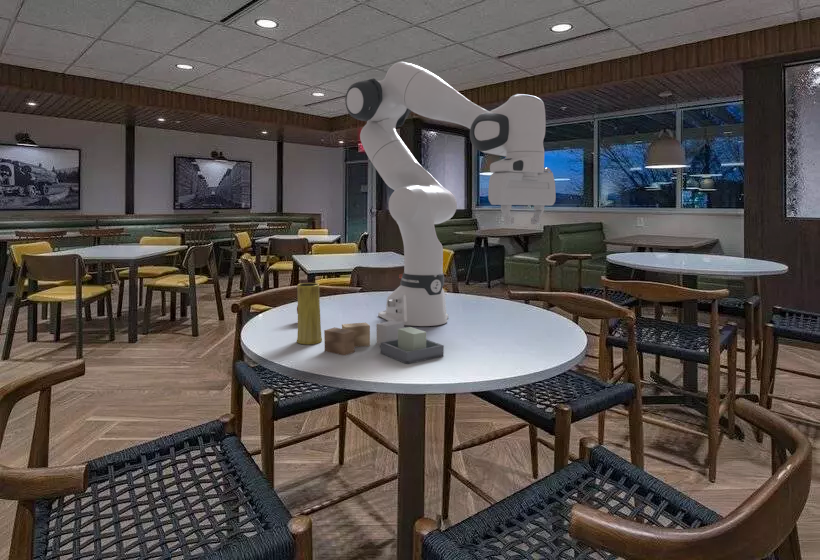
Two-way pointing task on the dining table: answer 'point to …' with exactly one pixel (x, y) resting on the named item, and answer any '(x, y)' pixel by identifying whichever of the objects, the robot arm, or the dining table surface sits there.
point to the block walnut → (339, 341)
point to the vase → (308, 314)
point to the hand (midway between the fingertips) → (522, 224)
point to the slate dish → (411, 356)
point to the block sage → (411, 339)
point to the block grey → (388, 330)
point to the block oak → (359, 333)
